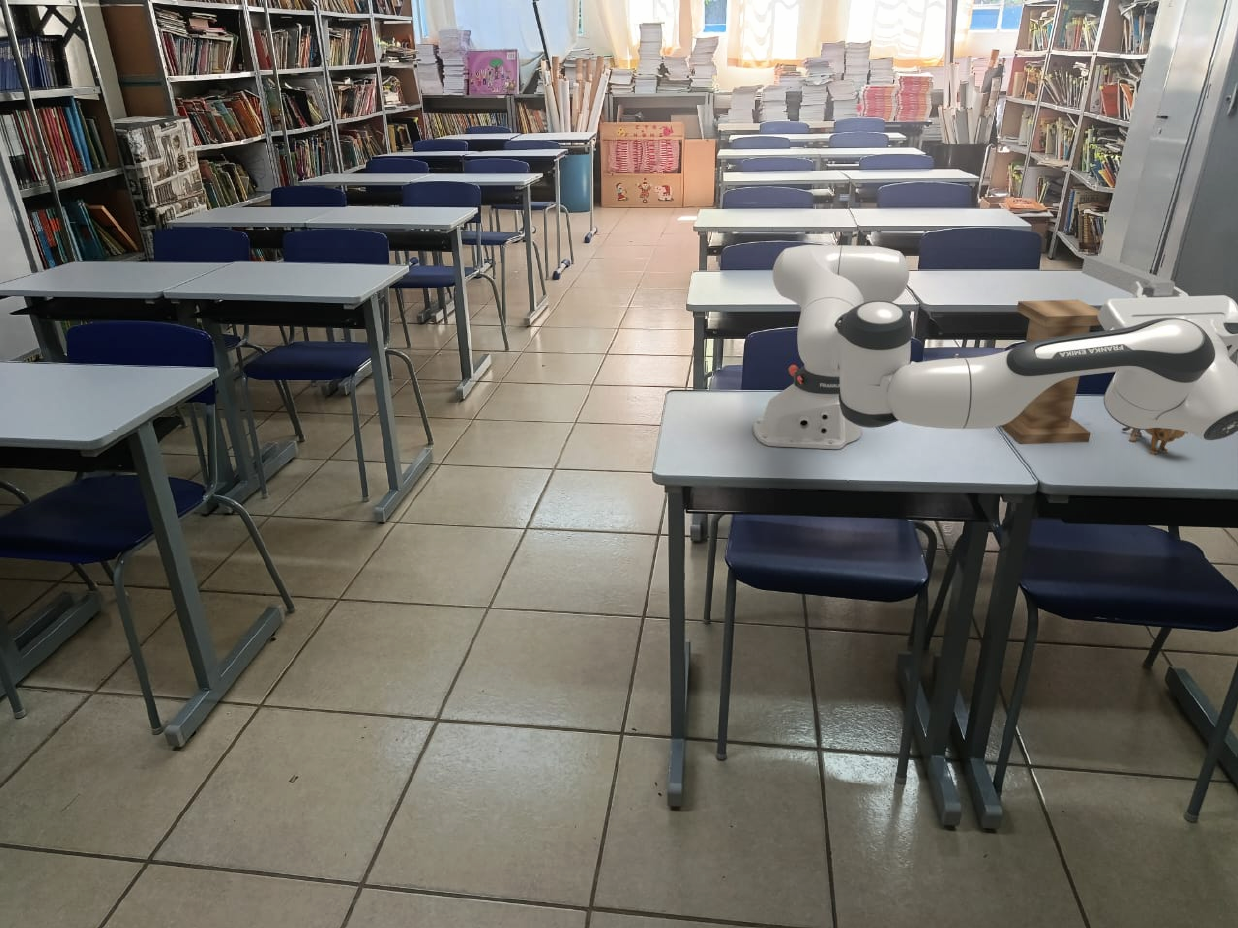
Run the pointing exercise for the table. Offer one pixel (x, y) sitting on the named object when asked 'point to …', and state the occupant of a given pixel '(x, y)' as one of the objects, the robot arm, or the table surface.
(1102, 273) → the metal block
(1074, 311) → the walnut stand
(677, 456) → the table surface
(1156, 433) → the lion figurine
